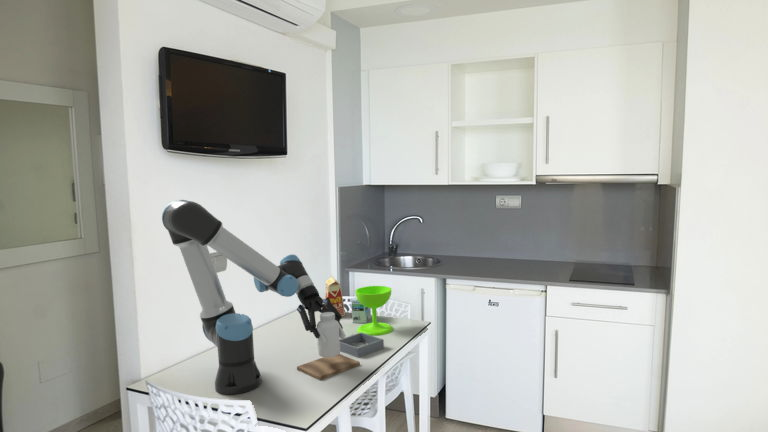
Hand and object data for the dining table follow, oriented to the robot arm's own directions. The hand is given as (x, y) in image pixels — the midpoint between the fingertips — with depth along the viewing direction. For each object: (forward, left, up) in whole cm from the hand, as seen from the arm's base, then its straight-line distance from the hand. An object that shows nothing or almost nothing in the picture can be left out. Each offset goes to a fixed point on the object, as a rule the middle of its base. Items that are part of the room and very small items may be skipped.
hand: (334, 341), depth 185 cm
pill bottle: (0, +3, -6) cm, 7 cm away
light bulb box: (+45, +38, -11) cm, 60 cm away
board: (-1, +3, -11) cm, 11 cm away
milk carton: (+41, +54, -11) cm, 69 cm away
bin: (+19, +9, -11) cm, 24 cm away
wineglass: (+39, +22, -11) cm, 47 cm away
